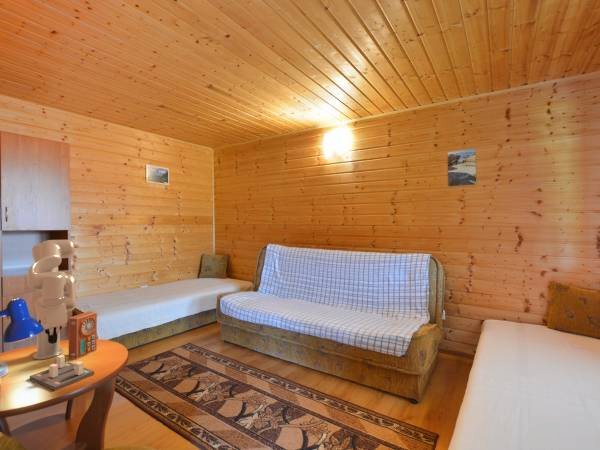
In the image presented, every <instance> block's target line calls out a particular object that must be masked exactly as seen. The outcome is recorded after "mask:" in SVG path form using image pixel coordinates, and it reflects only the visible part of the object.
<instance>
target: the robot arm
mask: <svg viewBox="0 0 600 450" xmlns="http://www.w3.org/2000/svg"><path fill="white" fill-rule="evenodd" d="M31 253H32V259H33V260H34V263H33V264H32V265H31V266H30V267H29V269H28V271H27V286H28V288H29V289H30V290H33V291H35V290H36V291H37V290H39V292H40V294H42V295H41V297H39V298H37V299H36V301H35V303H34V309H35V313H36V314H35V315H36V322H37V321H38V322H39V323H40V324H41V325H42V326H43V328H44V331H43V332H41V334H39V335H37V334H36V347H35V348H36V352H35V353H33V355H32V358H33V360H47V359H48V360H49V359H51V358H57V356H60V355H63V353H64V349H63V348H61V346H60V345H61V342H60V341H61V333H60V332H61V330H62V329H63V328H65V327H67V325H68V324H67V323H68V312H71V311H73V310H74V309H76V307H77V293H76V292H77V291H76V289H77V288H76V279H75V277H74V276H73V274H67V273H66V272H64V271H59V266H60V265H61V263H62V259H68V258H69V259H70V258H71V257H72V256H74V253H75V243H74V242H73V241H72V240H71V239H48V240H44V241H42V242H41V243H38V244H35V245H34V246H33V247H32V248H31Z"/></svg>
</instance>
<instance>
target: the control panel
mask: <svg viewBox="0 0 600 450" xmlns="http://www.w3.org/2000/svg"><path fill="white" fill-rule="evenodd" d="M97 342H98V312H97V311H92V310H90V311H85V312H83V313H80V314H77V315H72V316H70V317H69V318H68V359H70V360H78V359H81V358H83V357H85V356H87V355H89V354H91V353H93V352H95V351H97V349H98V348H97V347H98V343H97Z"/></svg>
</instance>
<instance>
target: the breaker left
mask: <svg viewBox="0 0 600 450" xmlns="http://www.w3.org/2000/svg"><path fill="white" fill-rule="evenodd" d="M65 363H66V356H65V355H63V354H60V355H58V356H56V364H57V365H58V368H62V367H65Z"/></svg>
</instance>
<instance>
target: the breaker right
mask: <svg viewBox="0 0 600 450" xmlns="http://www.w3.org/2000/svg"><path fill="white" fill-rule="evenodd" d="M74 364H75V374H77V375H81V374H83V367H84V362H83V361H81V360H79V361H75V362H74Z"/></svg>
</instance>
